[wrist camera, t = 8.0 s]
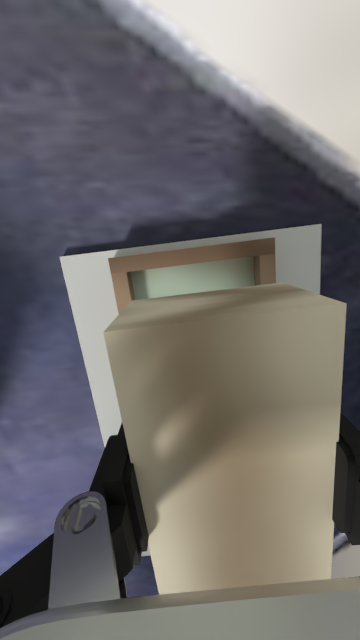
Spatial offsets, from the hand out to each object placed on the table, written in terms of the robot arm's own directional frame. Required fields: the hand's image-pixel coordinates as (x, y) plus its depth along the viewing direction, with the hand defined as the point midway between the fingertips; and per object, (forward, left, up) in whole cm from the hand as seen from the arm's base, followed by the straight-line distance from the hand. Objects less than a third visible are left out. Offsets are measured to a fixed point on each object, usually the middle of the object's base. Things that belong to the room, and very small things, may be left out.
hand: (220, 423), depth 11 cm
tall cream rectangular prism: (0, 0, -1) cm, 1 cm away
